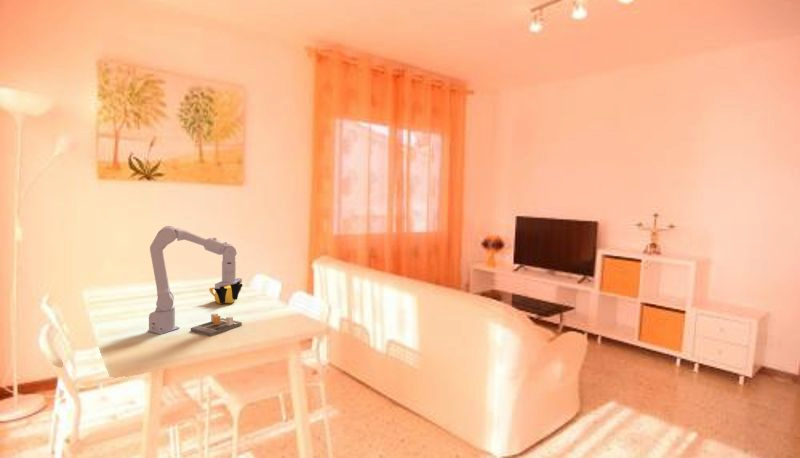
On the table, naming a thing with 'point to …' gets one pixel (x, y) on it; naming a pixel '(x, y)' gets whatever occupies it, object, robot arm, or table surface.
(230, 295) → the teapot
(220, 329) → the panel
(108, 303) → the table surface
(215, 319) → the breaker
